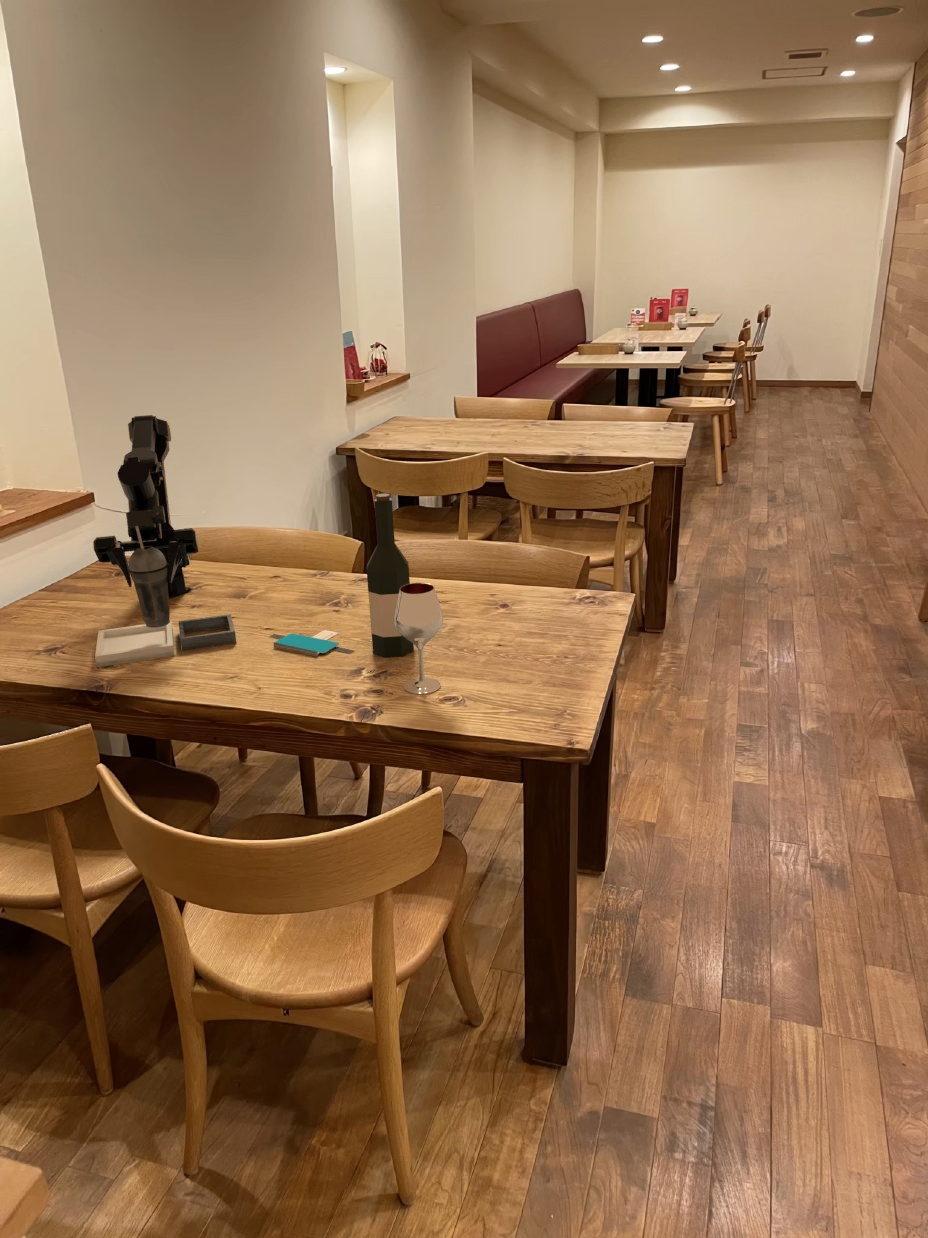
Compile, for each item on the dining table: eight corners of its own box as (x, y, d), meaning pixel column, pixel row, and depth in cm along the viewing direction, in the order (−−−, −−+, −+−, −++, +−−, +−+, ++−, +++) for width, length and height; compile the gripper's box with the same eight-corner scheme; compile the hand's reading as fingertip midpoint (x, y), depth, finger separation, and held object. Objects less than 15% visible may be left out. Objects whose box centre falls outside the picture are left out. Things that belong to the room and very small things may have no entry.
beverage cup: (184, 618, 178) (169, 520, 170) (161, 632, 171) (144, 530, 164) (154, 614, 180) (137, 518, 173) (130, 628, 174) (111, 528, 166)
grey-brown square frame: (181, 651, 174) (180, 639, 173) (180, 632, 183) (178, 621, 182) (236, 643, 177) (234, 631, 176) (232, 625, 186) (230, 613, 185)
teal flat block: (372, 642, 176) (372, 635, 176) (335, 665, 167) (334, 657, 166) (293, 627, 186) (292, 619, 185) (254, 647, 176) (253, 639, 176)
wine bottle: (381, 661, 166) (369, 503, 155) (365, 646, 173) (352, 493, 162) (422, 652, 170) (413, 496, 159) (404, 637, 177) (394, 487, 166)
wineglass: (398, 678, 159) (392, 581, 153) (444, 675, 160) (440, 579, 153) (399, 698, 151) (392, 598, 145) (447, 695, 152) (442, 595, 145)
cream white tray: (97, 667, 168) (94, 656, 167) (100, 640, 181) (98, 630, 180) (174, 655, 172) (172, 645, 171) (173, 630, 185) (171, 620, 184)
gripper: (85, 496, 168) (89, 570, 162) (188, 487, 172) (195, 559, 166) (97, 526, 178) (101, 596, 172) (195, 517, 182) (202, 585, 176)
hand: (150, 584), depth 171 cm, fingers closed on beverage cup, 7 cm apart
